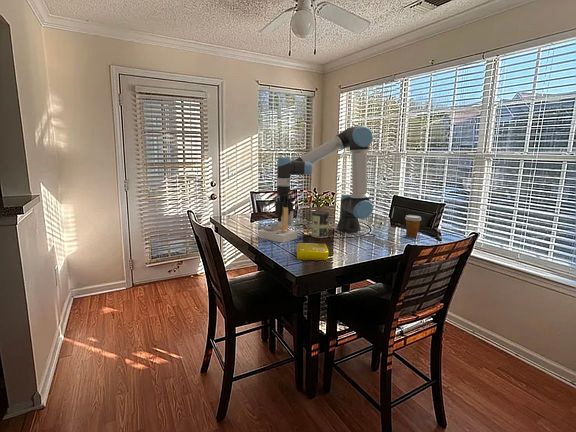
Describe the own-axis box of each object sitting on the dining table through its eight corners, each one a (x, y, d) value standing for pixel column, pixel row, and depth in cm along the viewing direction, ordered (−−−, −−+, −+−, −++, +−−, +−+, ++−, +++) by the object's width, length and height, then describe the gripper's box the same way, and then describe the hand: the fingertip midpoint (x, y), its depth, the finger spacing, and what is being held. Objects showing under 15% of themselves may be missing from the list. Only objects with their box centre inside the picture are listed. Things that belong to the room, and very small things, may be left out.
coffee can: (328, 234, 210) (329, 211, 207) (327, 238, 200) (328, 214, 197) (312, 233, 212) (312, 210, 209) (309, 237, 202) (310, 213, 199)
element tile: (325, 251, 176) (325, 242, 175) (328, 261, 161) (329, 251, 160) (296, 250, 176) (296, 241, 175) (296, 260, 161) (297, 250, 160)
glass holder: (279, 223, 236) (279, 202, 233) (298, 222, 240) (299, 201, 237) (283, 226, 228) (283, 204, 225) (303, 225, 232) (303, 203, 229)
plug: (282, 228, 199) (282, 206, 197) (287, 229, 197) (288, 207, 194) (277, 229, 196) (278, 207, 193) (283, 230, 194) (283, 208, 191)
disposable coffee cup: (420, 234, 213) (422, 215, 210) (419, 238, 204) (421, 218, 202) (404, 232, 217) (406, 214, 214) (402, 236, 208) (404, 216, 206)
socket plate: (297, 237, 200) (297, 231, 199) (282, 242, 189) (283, 235, 188) (273, 232, 210) (273, 226, 209) (258, 237, 199) (258, 230, 198)
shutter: (280, 229, 202) (280, 222, 201) (272, 231, 197) (272, 224, 196) (271, 227, 206) (271, 220, 205) (263, 229, 201) (263, 222, 200)
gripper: (279, 187, 182) (278, 229, 187) (297, 184, 196) (296, 224, 200) (268, 186, 187) (268, 227, 191) (287, 183, 200) (286, 222, 205)
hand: (282, 226), depth 196 cm, fingers closed on plug, 4 cm apart
